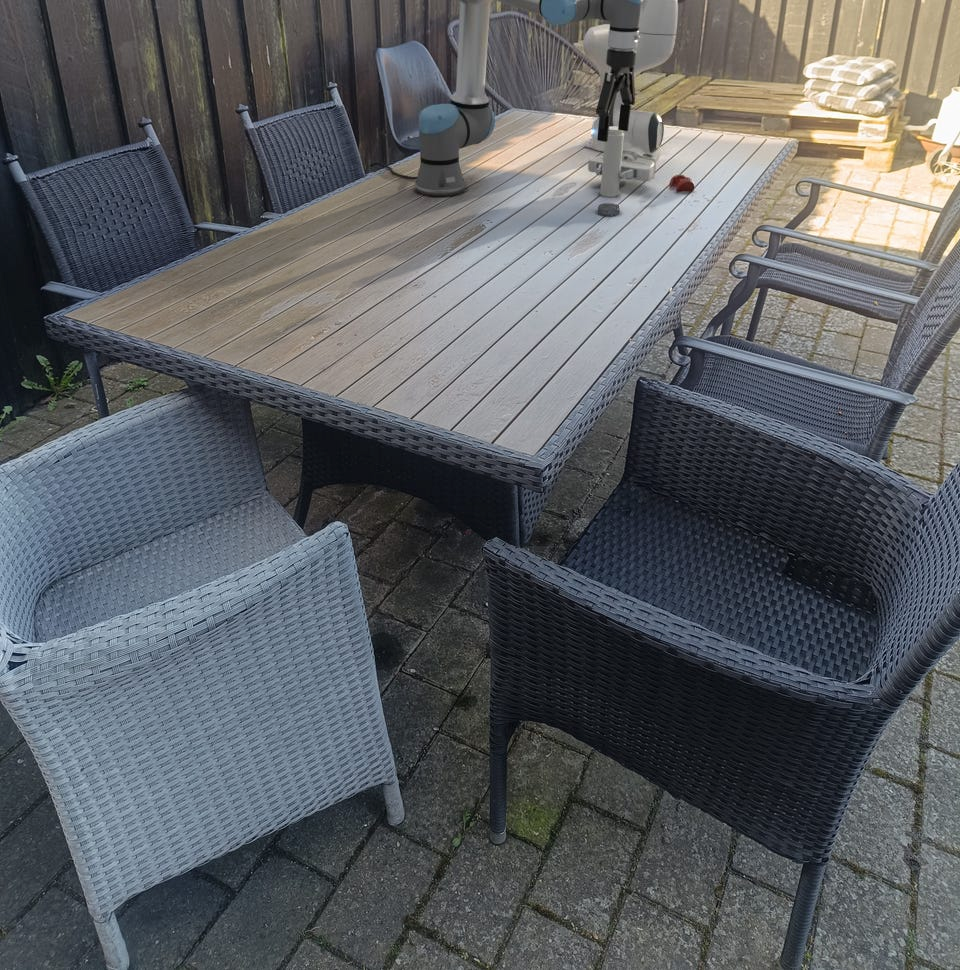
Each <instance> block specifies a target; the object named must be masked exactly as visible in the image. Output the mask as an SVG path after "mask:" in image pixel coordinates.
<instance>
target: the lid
mask: <svg viewBox="0 0 960 970" xmlns="http://www.w3.org/2000/svg"><path fill="white" fill-rule="evenodd" d="M620 209H621V207H620V205H619V204H616V203H610V202H604V203H599V204H598V206H597V214H598V215H599V216H603V217H615V216H618V215H619V214H620Z"/></svg>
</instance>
